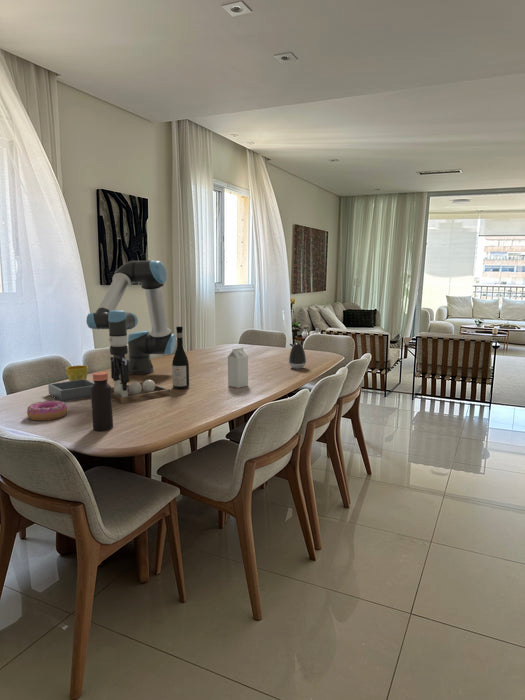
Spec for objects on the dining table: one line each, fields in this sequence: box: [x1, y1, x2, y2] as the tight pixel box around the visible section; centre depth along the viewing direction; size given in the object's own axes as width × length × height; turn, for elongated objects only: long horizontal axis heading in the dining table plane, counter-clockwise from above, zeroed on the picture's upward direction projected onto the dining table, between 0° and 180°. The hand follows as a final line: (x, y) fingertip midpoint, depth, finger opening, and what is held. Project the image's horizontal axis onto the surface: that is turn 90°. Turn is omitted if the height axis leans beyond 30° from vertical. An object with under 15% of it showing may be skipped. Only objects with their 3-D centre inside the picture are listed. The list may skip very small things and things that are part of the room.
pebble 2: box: [128, 381, 143, 395], centre depth 217 cm, size 6×6×6 cm
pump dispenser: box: [288, 342, 307, 370], centre depth 281 cm, size 10×10×15 cm
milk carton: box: [227, 347, 249, 389], centre depth 234 cm, size 7×7×19 cm
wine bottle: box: [171, 326, 190, 390], centre depth 230 cm, size 8×8×30 cm
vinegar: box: [90, 371, 114, 432], centre depth 167 cm, size 7×7×20 cm
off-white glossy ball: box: [114, 384, 129, 396], centre depth 213 cm, size 6×6×6 cm
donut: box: [26, 399, 69, 422], centre depth 183 cm, size 14×14×5 cm
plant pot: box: [65, 364, 89, 381], centre depth 234 cm, size 10×10×10 cm
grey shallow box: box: [47, 379, 94, 403], centre depth 216 cm, size 17×17×5 cm
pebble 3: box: [142, 379, 156, 393], centre depth 222 cm, size 6×6×6 cm
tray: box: [111, 382, 171, 404], centre depth 218 cm, size 24×22×2 cm
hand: (121, 395), depth 213 cm, fingers closed on off-white glossy ball, 6 cm apart
